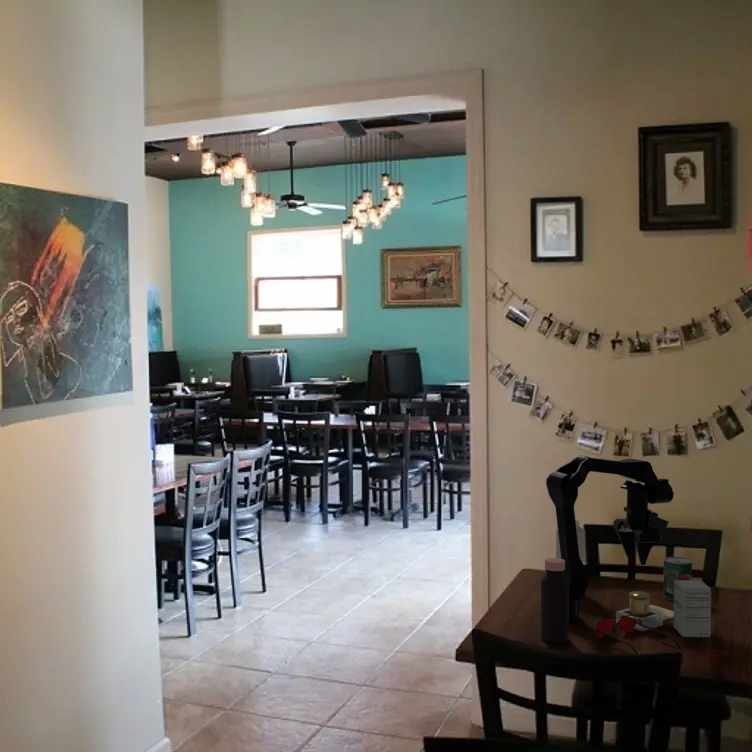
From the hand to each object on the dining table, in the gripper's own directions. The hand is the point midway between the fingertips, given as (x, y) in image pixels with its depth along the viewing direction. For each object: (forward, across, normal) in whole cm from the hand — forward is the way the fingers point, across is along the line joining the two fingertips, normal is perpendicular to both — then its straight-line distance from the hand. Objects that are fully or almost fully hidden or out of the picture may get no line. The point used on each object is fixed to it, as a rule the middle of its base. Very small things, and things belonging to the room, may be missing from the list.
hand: (635, 560), depth 250 cm
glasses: (+14, -26, +11) cm, 32 cm away
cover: (+14, -13, +4) cm, 19 cm away
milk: (+14, +17, +12) cm, 25 cm away
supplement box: (+14, -21, -6) cm, 26 cm away
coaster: (+13, -5, -4) cm, 15 cm away
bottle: (+14, -20, +30) cm, 39 cm away
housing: (+14, -13, +4) cm, 19 cm away
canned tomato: (+13, +8, -17) cm, 23 cm away
